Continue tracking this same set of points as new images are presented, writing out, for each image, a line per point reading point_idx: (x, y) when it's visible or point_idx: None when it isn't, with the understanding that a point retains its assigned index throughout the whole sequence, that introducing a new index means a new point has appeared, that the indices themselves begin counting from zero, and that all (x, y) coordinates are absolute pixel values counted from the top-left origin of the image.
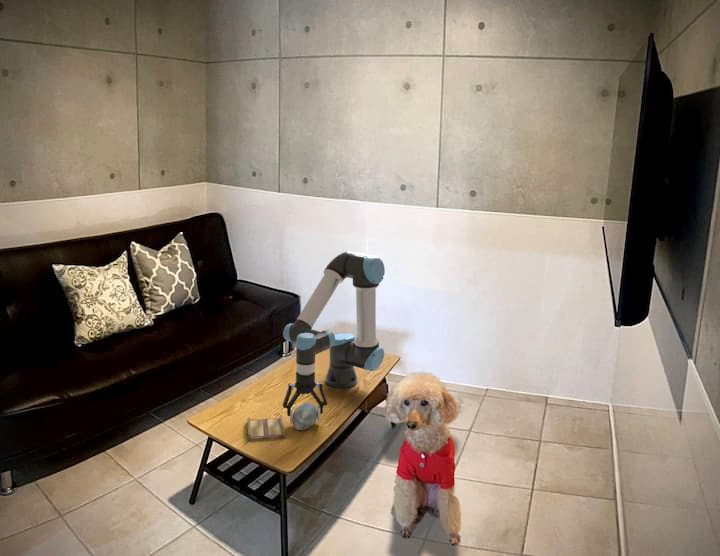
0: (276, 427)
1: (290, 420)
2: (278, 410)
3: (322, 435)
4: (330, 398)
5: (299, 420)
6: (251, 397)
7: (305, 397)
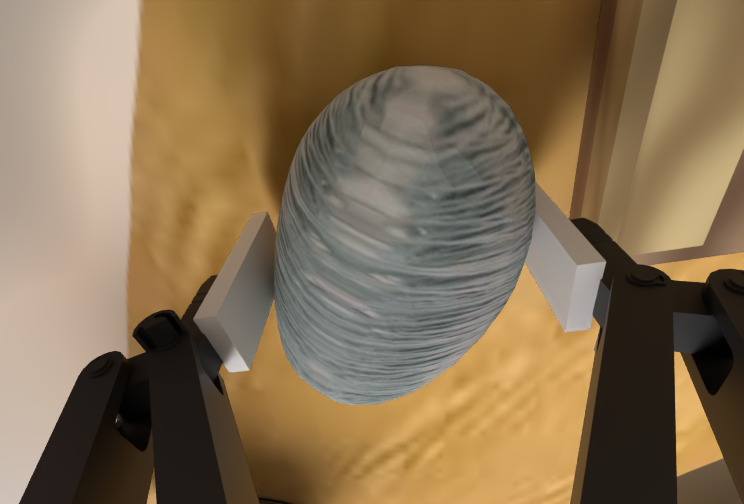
0: (675, 107)
1: (538, 185)
2: (557, 359)
3: (182, 3)
4: (271, 447)
5: (462, 83)
6: None
7: (396, 450)
